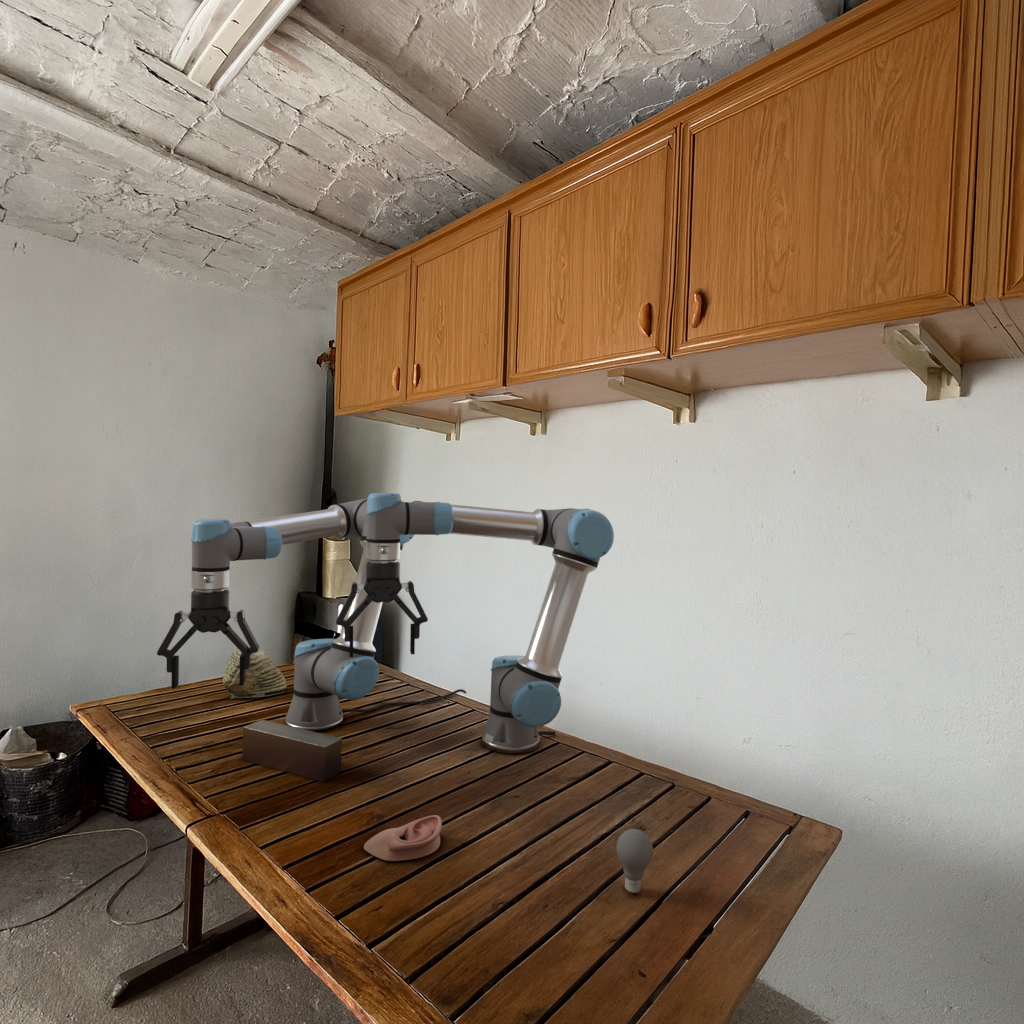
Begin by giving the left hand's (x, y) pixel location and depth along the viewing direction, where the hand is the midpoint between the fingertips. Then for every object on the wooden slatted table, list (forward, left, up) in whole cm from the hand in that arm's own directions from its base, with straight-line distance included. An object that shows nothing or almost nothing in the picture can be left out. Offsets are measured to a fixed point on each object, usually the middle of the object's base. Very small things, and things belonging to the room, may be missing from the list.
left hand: (208, 685), depth 139 cm
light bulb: (-28, +90, -21) cm, 97 cm away
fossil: (-37, -47, -21) cm, 63 cm away
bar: (-16, +7, -21) cm, 27 cm away
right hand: (-27, +26, +7) cm, 38 cm away
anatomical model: (-12, +52, -21) cm, 57 cm away
